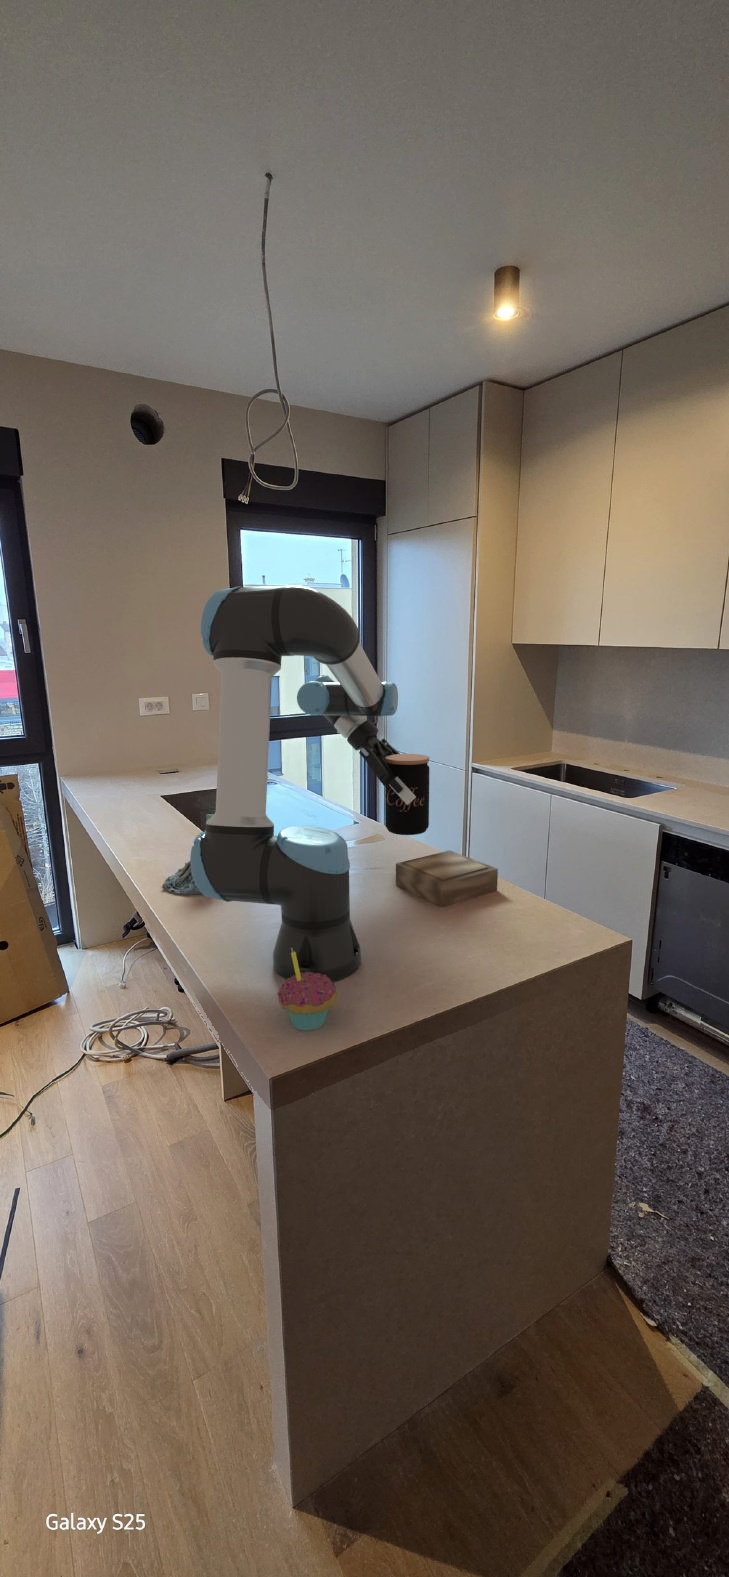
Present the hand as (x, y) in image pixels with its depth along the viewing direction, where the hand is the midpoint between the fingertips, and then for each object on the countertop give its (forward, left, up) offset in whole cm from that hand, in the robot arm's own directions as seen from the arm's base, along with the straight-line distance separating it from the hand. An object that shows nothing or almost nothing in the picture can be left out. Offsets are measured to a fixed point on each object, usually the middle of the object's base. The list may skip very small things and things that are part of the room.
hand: (418, 796), depth 158 cm
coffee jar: (+2, +2, -9) cm, 9 cm away
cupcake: (-44, +55, -18) cm, 73 cm away
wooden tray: (-15, +4, -18) cm, 23 cm away
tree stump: (+22, +46, -18) cm, 54 cm away
